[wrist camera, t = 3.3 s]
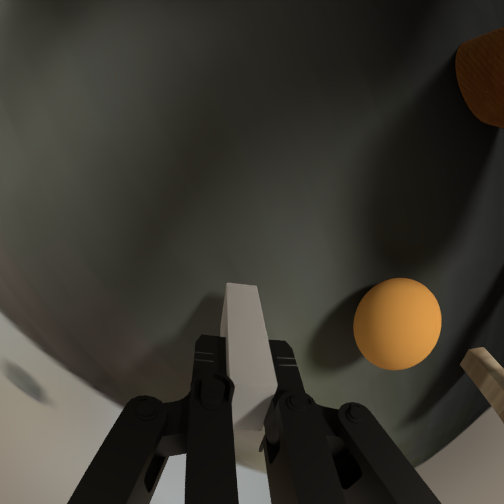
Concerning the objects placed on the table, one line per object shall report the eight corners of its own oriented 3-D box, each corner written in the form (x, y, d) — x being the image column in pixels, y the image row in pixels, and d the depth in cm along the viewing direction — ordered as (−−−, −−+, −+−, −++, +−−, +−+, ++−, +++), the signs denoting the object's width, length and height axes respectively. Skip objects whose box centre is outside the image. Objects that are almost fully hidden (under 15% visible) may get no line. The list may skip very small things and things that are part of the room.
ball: (356, 257, 16) (402, 308, 11) (422, 267, 17) (472, 309, 12) (330, 333, 18) (358, 393, 13) (394, 333, 19) (430, 383, 14)
